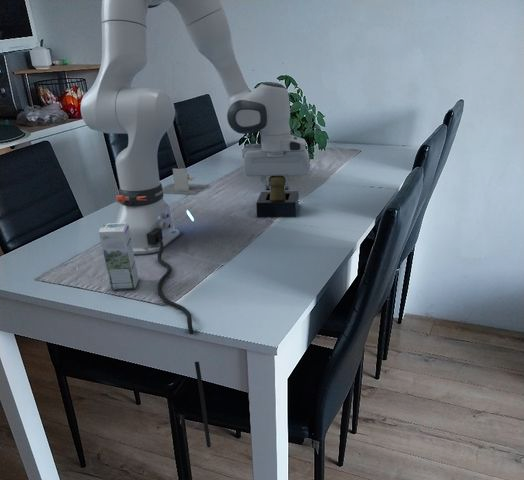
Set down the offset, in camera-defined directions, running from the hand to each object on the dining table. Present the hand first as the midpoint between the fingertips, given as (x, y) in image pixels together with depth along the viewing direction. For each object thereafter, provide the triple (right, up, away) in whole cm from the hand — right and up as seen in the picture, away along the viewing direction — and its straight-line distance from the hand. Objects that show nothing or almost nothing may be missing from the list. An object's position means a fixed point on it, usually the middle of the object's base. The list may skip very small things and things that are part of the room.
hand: (277, 189), depth 167 cm
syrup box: (-37, -34, -38) cm, 63 cm away
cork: (0, -6, +4) cm, 7 cm away
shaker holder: (0, -6, +4) cm, 7 cm away
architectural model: (-34, +9, +31) cm, 47 cm away
